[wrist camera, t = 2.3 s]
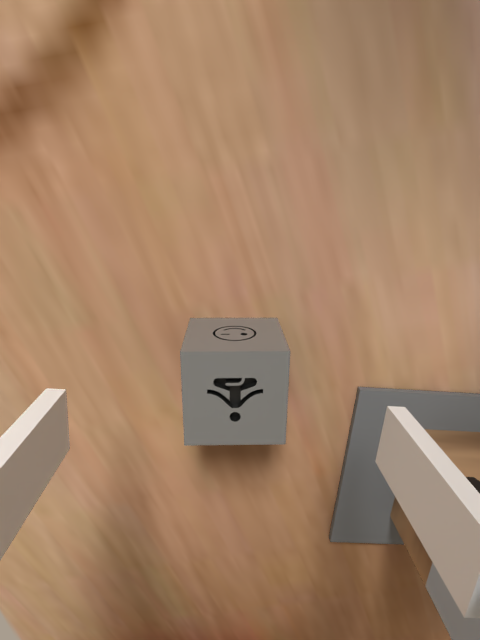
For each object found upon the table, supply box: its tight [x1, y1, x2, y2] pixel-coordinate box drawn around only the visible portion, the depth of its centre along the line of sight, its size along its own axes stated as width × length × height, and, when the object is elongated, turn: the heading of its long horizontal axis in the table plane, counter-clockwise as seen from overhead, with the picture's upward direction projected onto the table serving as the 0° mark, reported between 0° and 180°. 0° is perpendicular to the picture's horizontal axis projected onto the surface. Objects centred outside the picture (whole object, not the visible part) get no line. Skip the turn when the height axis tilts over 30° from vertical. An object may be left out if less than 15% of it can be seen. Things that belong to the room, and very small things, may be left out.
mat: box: [329, 387, 480, 544], centre depth 26 cm, size 12×12×1 cm
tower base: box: [390, 429, 480, 585], centre depth 23 cm, size 7×4×5 cm, turn 175°
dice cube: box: [180, 318, 290, 445], centre depth 21 cm, size 5×5×5 cm
